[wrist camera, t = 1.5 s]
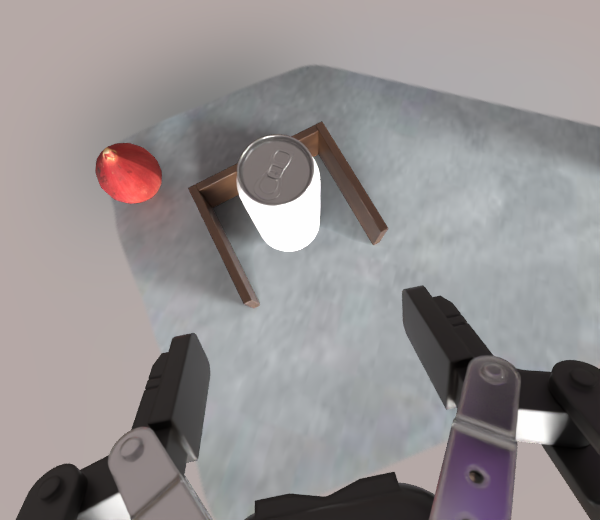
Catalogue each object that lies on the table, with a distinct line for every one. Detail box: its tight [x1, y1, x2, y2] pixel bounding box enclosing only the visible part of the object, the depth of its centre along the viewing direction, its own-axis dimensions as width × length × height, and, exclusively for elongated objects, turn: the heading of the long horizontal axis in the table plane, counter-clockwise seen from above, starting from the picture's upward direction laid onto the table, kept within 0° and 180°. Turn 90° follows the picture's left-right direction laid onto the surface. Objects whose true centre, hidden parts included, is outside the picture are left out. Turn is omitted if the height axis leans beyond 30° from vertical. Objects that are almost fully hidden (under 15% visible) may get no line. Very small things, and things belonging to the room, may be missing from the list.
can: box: [236, 134, 320, 251], centre depth 30 cm, size 6×6×12 cm
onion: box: [96, 143, 162, 204], centre depth 34 cm, size 6×6×8 cm
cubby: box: [188, 122, 388, 308], centre depth 34 cm, size 15×13×4 cm
